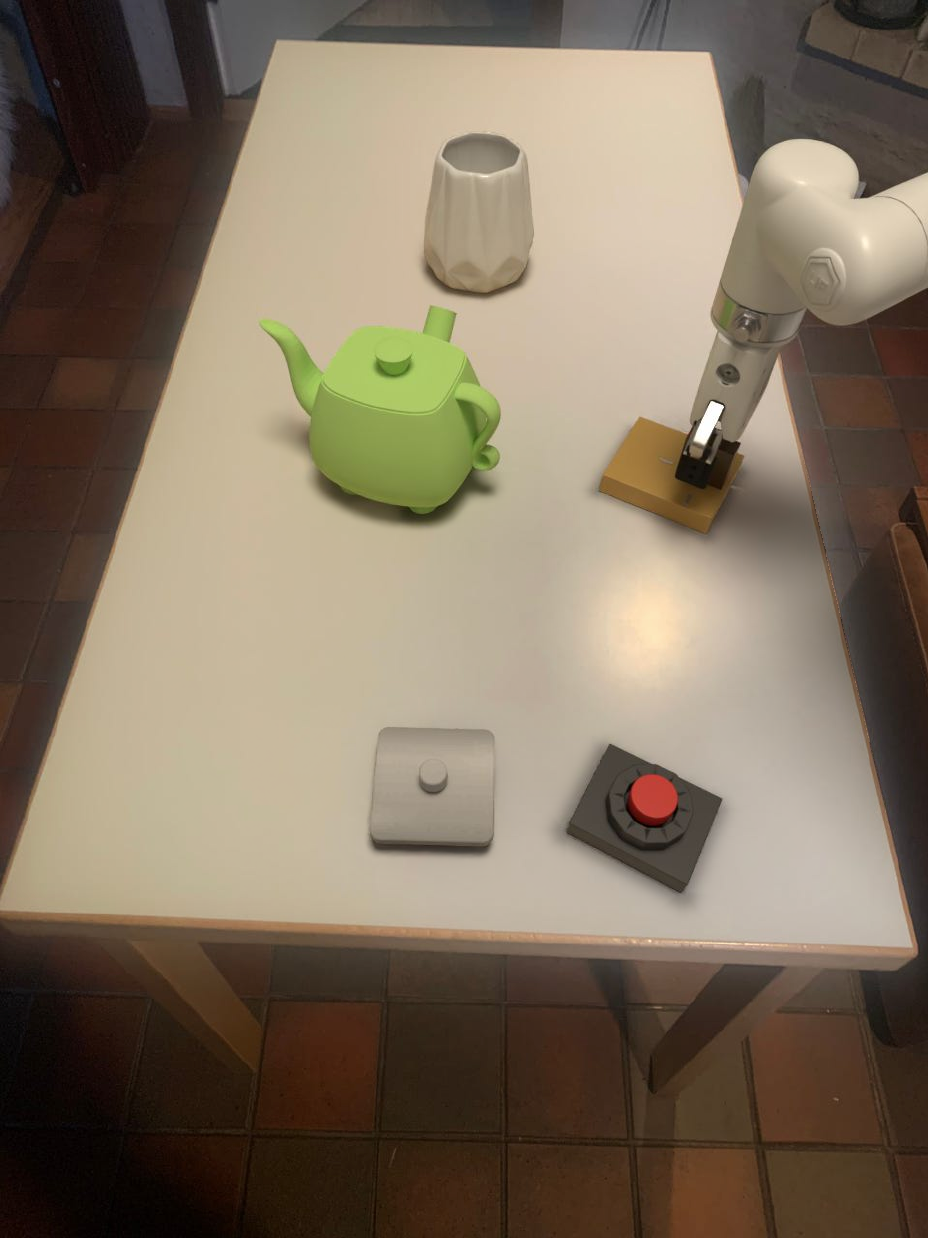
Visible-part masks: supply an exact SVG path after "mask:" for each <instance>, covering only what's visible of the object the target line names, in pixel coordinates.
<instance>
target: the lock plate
mask: <svg viewBox="0 0 928 1238" xmlns="http://www.w3.org/2000/svg"><path fill="white" fill-rule="evenodd" d="M687 435H688V433H686V432H682V431H680V430H676V429H675V428H672V427H669V426H666V425H664V424H661V423H659V422H656V421H654V420H650V419H648V418H645V417H642V416H639V417H638V418H637V420H636V421H635V423H634V425H633V426H632V428H631V429H630V431H629V432H628V433H627V436H626V437H625V438H624V440H623V441H622V443H621V445H620V447H619V448H618V449H617V451H616V453H615V455H614V456H613V457H612V459H611V461H610V462H609V463H608V465H607V467H606V468H605V470H604V471H603V473H602V476H601V480H600V485H599V492H601V493H604V494H606V495H609V496H611V497H614V498H616V499H618V500H621V501H624V502H626V503H629V504H631V505H633V506H636V507H639V508H641V509H643V510H645V511H648V512H651V513H654V514H655V515H658V516H661V517H662V518H666V519H668V520H670V521H673V522H675V523H678V524H680V525H683V526H685V527H688V528H690V529H692V530H695V531H697V532H700V533H703V534H707V533H708V531H709V529H710V527H711V525H712V523H713V522H714V521H715V520H714V519H715V518H716V516H717V514H718V512H719V510H720V508H721V506H722V504H723V502H724V500H725V498H726V496H727V494H728V492H729V491H730V489H733V490H735V491H738V492H740V493H744V492H745V490H746V489H745V488H742V487H739V486H737V485H734V484H733V483H734V481H735V479H736V477H737V476H738V473H739V471H740V469H741V466H742V463H743V460H744V458H745V455H744V454H742V453H739V452H737V455H736V457H735V460H734V462H733V465H732V468H731V470H730V473H729V475H728V478H727V480H726V482H725V484H724V486H723V487H722V489H721V490H720V489H718V488H715V487H712V486H710V485H707V486H706V488H705V489H700V488H698V487H695V486H693V485H690V484H688V483H685V482H683V481H680V480H678V479H676V478H675V473H676V469H677V466H678V462H679V459H680V456H681V453H682V450H683V446H684V443H685V440H686V437H687Z"/></svg>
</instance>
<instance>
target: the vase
mask: <svg viewBox="0 0 928 1238" xmlns="http://www.w3.org/2000/svg"><path fill="white" fill-rule="evenodd" d="M533 218H534V217H533V208H532V195H531V182H530V173H529V162H528V155H527V153H526V152H525V150H524V149H523V147H522V146H521V145H520V143H518V142H516V141H515V140H514V139H513V138H512V137H509V136H507V135H505V134H502V133H497V132H488V131H486V130H477V131H476V130H475V131H467V132H461V133H460V134H457V135H453V136H451V137H448V138H446V139H445V140H443V142H442V143H441V145H440V147H439V150H438V152H437V153H436V157H435V160H434V165H433V170H432V176H431V184H430V188H429V195H428V200H427V204H426V211H425V217H424V230H423V231H424V238H423V253H424V257H425V259H426V262H427V263H428V265H429V267H430V268H431V269H432V271H433V272H434V275H435V277H436V278H437V279H438V280H439V281H440V282H441V283H442V284H444V285H445V286H447V287H449V288H451V289H455V290H460V291H466V292H471V293H472V292H473V293H482V294H487V293H491V292H493V291H496V290H498V289H500V288H504V287H506V286H509V285H511V284H513V283H514V282H516V281H517V280H519V278H520V277H521V275H522V274H523V272H524V270H525V268H526V267H527V265H528V260H529V255H530V251H531V248H532V246H533V243H534V237H535V227H534V219H533Z"/></svg>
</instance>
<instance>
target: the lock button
mask: <svg viewBox="0 0 928 1238" xmlns="http://www.w3.org/2000/svg"><path fill="white" fill-rule="evenodd" d="M677 803H678V796H677V792H676V789H675V788H674V786H673V785H672V783H671V782H670V781H668V780H667V779H666V778H664V777H662V776H659V775H655V774H648V775H644V776H642V777H640V778H638V779H637V780H636V781H635V782H634V784H633V786H632V788H631V790H630V793H629V795H628V807H629V810H630V812H631V814H632V815H633V816H634V818H636V819H637V820H638V821H639V822H641V823H643V824H646V825H650V826H656V825H661V824H663V823H665V822H666V821H667V820H668V819H669V818H670V817H671V815H672V814H673V812H674V810H675V808H676V806H677Z"/></svg>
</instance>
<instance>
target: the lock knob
mask: <svg viewBox="0 0 928 1238" xmlns="http://www.w3.org/2000/svg"><path fill="white" fill-rule="evenodd" d="M693 429H694V427H692V426H691V428H690V430H689V432H688V433H687V434H688V435H687V437H686V440H685V443H684V446H683V449H684V447H685V446H686V445H687V442H688V440H689V438H690V436H691V433H692V431H693ZM715 439H716V436H715V435H713V434H712V435H711V437H710V439H709V442H708V444H707V447H706V448H708V449H710V450H711V448H712V446H713V443H714V441H715ZM741 444H742V442H741V441H738V440H737V441H735V442H730V441H728V440H725V439H724V438H723V439H722V441H721V444H720V446H719V448H718V450H717V453H716V455H715V457H716V458H717V461H716V463H715V466H714V469H713V471H712V474H711V477H710V479H709V482H708V484H707V485H710V486H712V487H715V488H718V489H720V490H721V489H722V487H723V486H724V484H725V482H726V480H727V478H728V475H729V473H730V470H731V468H732V465H733V462H734V460H735V457H736V455H737V453H739V450H740V447H741ZM682 452H683V450H682ZM681 455H682V453H681ZM680 458H681V456H680ZM679 461H680V459H679ZM678 464H679V462H678ZM677 467H678V466H677ZM676 470H677V469H676Z"/></svg>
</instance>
